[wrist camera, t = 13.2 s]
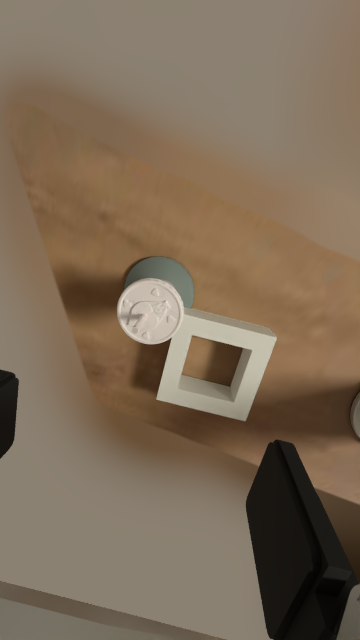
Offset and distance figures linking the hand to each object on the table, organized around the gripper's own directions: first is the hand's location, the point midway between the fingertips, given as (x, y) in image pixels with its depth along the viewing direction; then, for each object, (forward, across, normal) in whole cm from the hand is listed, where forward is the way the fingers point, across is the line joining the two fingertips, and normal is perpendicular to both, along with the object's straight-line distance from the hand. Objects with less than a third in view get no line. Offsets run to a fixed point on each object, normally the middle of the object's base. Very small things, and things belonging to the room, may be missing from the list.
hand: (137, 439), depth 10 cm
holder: (+27, -6, +7) cm, 28 cm away
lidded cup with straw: (+26, +3, 0) cm, 26 cm away
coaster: (+27, +3, 0) cm, 27 cm away
